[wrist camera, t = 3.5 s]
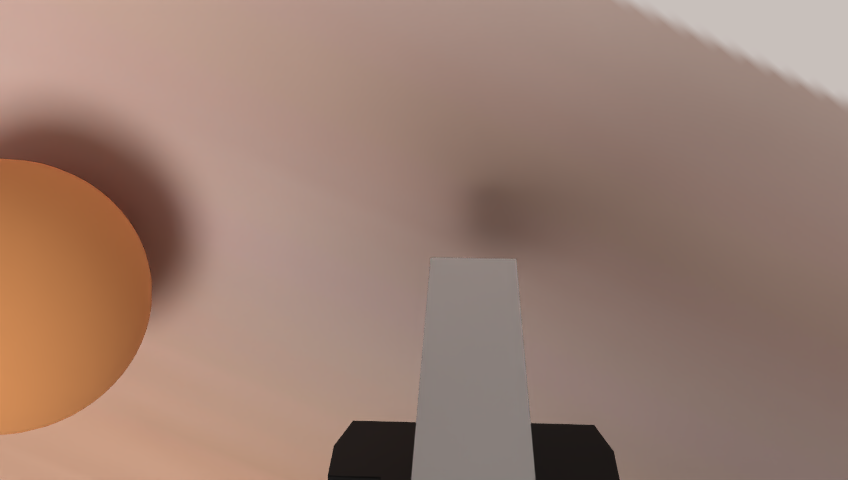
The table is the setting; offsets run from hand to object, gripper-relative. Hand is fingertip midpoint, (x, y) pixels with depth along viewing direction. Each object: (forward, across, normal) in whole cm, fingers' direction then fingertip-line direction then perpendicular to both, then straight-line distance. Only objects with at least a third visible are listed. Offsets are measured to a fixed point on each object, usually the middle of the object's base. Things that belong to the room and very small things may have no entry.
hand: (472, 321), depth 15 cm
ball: (+1, +9, 0) cm, 9 cm away
